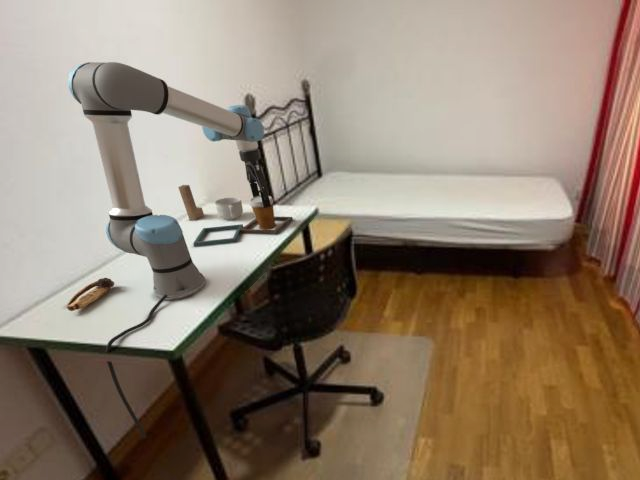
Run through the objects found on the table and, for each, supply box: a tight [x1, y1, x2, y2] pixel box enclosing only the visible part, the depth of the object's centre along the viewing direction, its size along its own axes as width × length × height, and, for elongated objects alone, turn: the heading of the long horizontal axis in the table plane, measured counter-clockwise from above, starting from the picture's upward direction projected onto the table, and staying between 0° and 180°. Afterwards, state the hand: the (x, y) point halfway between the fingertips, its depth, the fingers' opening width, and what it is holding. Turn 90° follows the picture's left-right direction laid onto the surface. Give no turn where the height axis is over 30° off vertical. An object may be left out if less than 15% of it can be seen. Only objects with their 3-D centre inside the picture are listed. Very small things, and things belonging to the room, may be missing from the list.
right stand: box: [240, 216, 294, 235], centre depth 190 cm, size 16×16×2 cm
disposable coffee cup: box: [249, 195, 276, 230], centre depth 187 cm, size 10×10×12 cm
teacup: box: [214, 197, 244, 221], centre depth 199 cm, size 14×11×8 cm
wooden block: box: [178, 184, 205, 221], centre depth 200 cm, size 7×3×15 cm, turn 169°
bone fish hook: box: [66, 277, 115, 312], centre depth 142 cm, size 9×5×18 cm
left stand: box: [192, 223, 244, 247], centre depth 183 cm, size 16×16×2 cm
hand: (262, 202), depth 185 cm, fingers open, 13 cm apart
